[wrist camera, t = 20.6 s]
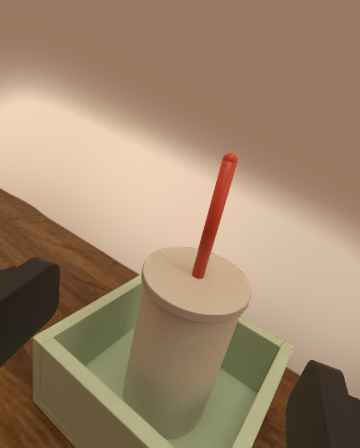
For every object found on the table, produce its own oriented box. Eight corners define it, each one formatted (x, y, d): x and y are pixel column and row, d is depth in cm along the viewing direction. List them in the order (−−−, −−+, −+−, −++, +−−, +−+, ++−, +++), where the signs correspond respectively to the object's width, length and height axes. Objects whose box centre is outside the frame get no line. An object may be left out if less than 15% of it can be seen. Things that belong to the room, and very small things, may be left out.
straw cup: (213, 376, 23) (294, 159, 16) (195, 461, 18) (306, 187, 10) (141, 347, 24) (186, 131, 17) (102, 418, 19) (145, 143, 12)
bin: (267, 399, 23) (294, 346, 21) (189, 575, 14) (222, 516, 12) (145, 315, 29) (156, 265, 26) (32, 401, 20) (32, 336, 17)
